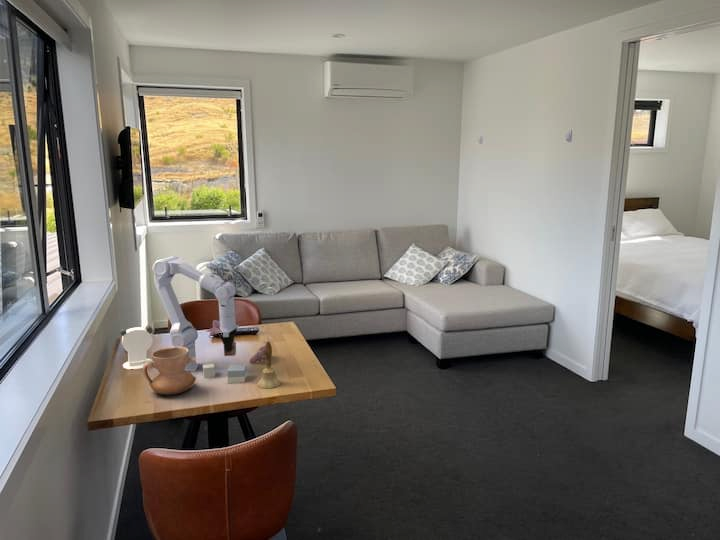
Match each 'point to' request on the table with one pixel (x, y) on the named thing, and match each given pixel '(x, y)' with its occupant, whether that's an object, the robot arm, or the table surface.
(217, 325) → the lily
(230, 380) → the tower base
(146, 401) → the table surface
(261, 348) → the video game controller
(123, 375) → the table surface
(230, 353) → the walnut cube
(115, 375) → the table surface
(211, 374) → the cream cube
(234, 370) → the tower top
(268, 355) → the hand bell
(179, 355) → the ceramic jug
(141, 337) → the panda figurine
